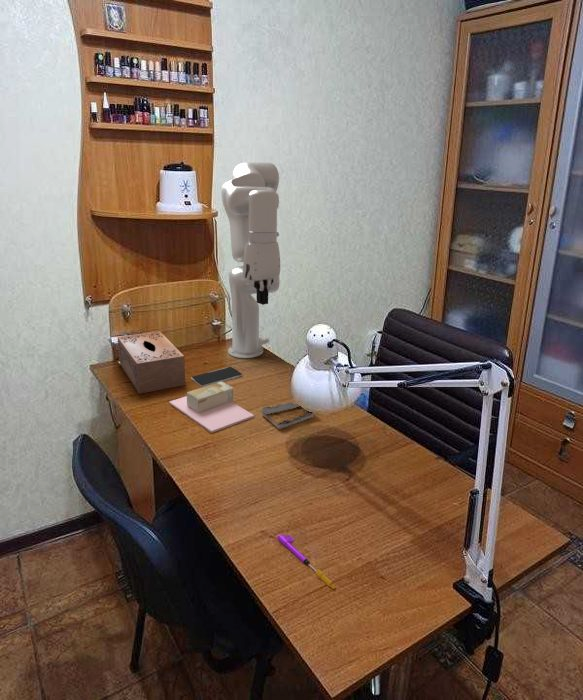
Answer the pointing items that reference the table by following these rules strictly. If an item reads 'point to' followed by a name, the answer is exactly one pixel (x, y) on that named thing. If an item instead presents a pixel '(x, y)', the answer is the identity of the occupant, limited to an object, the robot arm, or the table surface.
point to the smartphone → (216, 376)
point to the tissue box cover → (151, 361)
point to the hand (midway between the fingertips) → (262, 303)
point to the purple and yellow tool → (303, 558)
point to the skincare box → (209, 396)
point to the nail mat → (213, 414)
